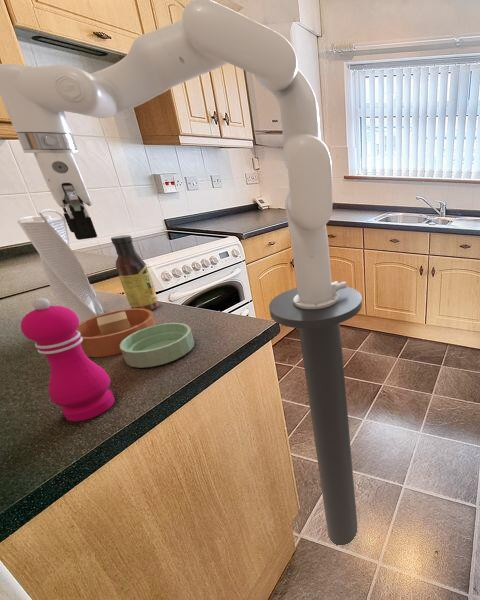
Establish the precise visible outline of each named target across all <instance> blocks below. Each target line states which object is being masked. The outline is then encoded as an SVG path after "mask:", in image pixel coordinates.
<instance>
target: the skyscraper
mask: <svg viewBox="0 0 480 600" xmlns="http://www.w3.org/2000/svg"><path fill="white" fill-rule="evenodd" d="M48 212H51V213H55V214H56V215H57V214H58V215H59V216H60V217H51V215H50V214H43V213H48ZM38 214H39V215H30V216H29V215H28V216H23V217H21V218H18V219H17V224H18V225H19V226H20V228H21V229H22V231H23V233H24V234H25V235H26V238H28V240H29V241H30V243H31V244H32V246H33V247H34V248H35V250H36V251H37V253H38V254H39V259H40V264H41V267H42V269H43V273H44V275H45V278H46V280H47V282H48V284H49V287H50V289H51V291H52V292H53V294H54V297H55V298H56V300H57V302H58V304H59V306H62V307H66V308H69V309H71V310H72V311H73V312H75V314H76V315H77V317H78V319H79V323H81V322H83V321H85V320H87V319H89V318H92V317H94V316H98V315H101V314H104V313H106V312H105V311H104V310H103V307H102V304H101V301H100V299H98V297H97V294H96V291H95V288H94V286H93V284H92V283H90V281H89V279H88V275H87V274H86V272H85V270H84V267H83V265H82V263H81V262H80V261H79V259H78V256H77V255H76V254H75V253H74V252H73V250H72V249H71V247H70V238H69V232H68V228H67V227H68V226H67V222H66V219H65V217H64V215H63V214H62V213H60V212H59V211H58V210H55V209H52V208H47V209H45V208H44V209H40V211H39V212H38Z"/></svg>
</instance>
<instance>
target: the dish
mask: <svg viewBox="0 0 480 600" xmlns="http://www.w3.org/2000/svg"><path fill="white" fill-rule="evenodd" d="M194 346H195V339H194V336H193V332H192V329H191V327H190V326H189V325H188V324H186V323H183V322H165V323H160V324H156V325H154V326H151V327H147V328H144V329H142V330H139V331H136V332H134V333H133V334H131V335H129V336H127V337H126V338H125V339H124V340H122V342H121V343H120V349H121V352H122V353H121V354H122V356H123V360H124V361H125V364H126V365H128V366H129V367H132V368H153V367H158V366H162V365H166V364H168V363H171V362H174V361H176V360H178V359H180V358H182V357H184V356H185V355H186V354H188V353H189V352H190V351H192V349H193V348H194Z"/></svg>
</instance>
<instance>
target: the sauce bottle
mask: <svg viewBox="0 0 480 600" xmlns="http://www.w3.org/2000/svg"><path fill="white" fill-rule="evenodd" d="M110 240H111V243H112V245H113V246H114V248H115V251H116V255H117V258H116V260H115V268H116V271H117V274H118V277H119V280H120V284H121V285H122V288H123V291H124V294H125V295H126V299H127V302H128V304H129V306H130V309H133V308H141V309H147V310H150V311H151V312H152V311H153V310H156V308H158V307H159V301H158V300H159V299H158V296H157V293H156V290H155V287H154V284H153V281H152V278H151V275H150V272H149V269H148V266H147V264H146V262H145V261H144V260H143V259H142V258H141V256H140V255H139V253H137V251H136V249H135V246H134V244H133V237H132V235H131V234H122V235H116V236H112V237H111V238H110Z"/></svg>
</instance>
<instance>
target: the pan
mask: <svg viewBox="0 0 480 600" xmlns="http://www.w3.org/2000/svg"><path fill="white" fill-rule="evenodd" d="M123 311H125V314H126V316H127V319H128V322H129V324H130V327H131V328H130V329H127V330H124V331H121V332H117V333H114V334H110V335H104V336H102V334H101V331H100V329H99V327H98V322H97V318H98V317H102V316H107V315H111V314H115V313H119V312H123ZM154 325H157V322H156V319H155V316H154V314H153V312H152V310H151V311H150V310H147V309H141V308H133V309H132V308H124V309H118V310H113V311H109V312H105V313H104V314H101V315H98V316H94V317H92V318H89V319H87V320H85V321H83V322H81V323H79V326H78V328H77V330H76V331H78V332H80V336H81V337H82V338H83V340H82V342H81V346H82V349H83V351H84V353H85V355H86V356H87V357H88V358H102V357H109V356H113V355H118V354H122V352H121V349H120V343H121V342H122V340H124V339H125V338H126V337H127V336H129V335H131V334H133V333H134V332H136V331H139V330H142V329H144V328H147V327H151V326H154Z"/></svg>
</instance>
